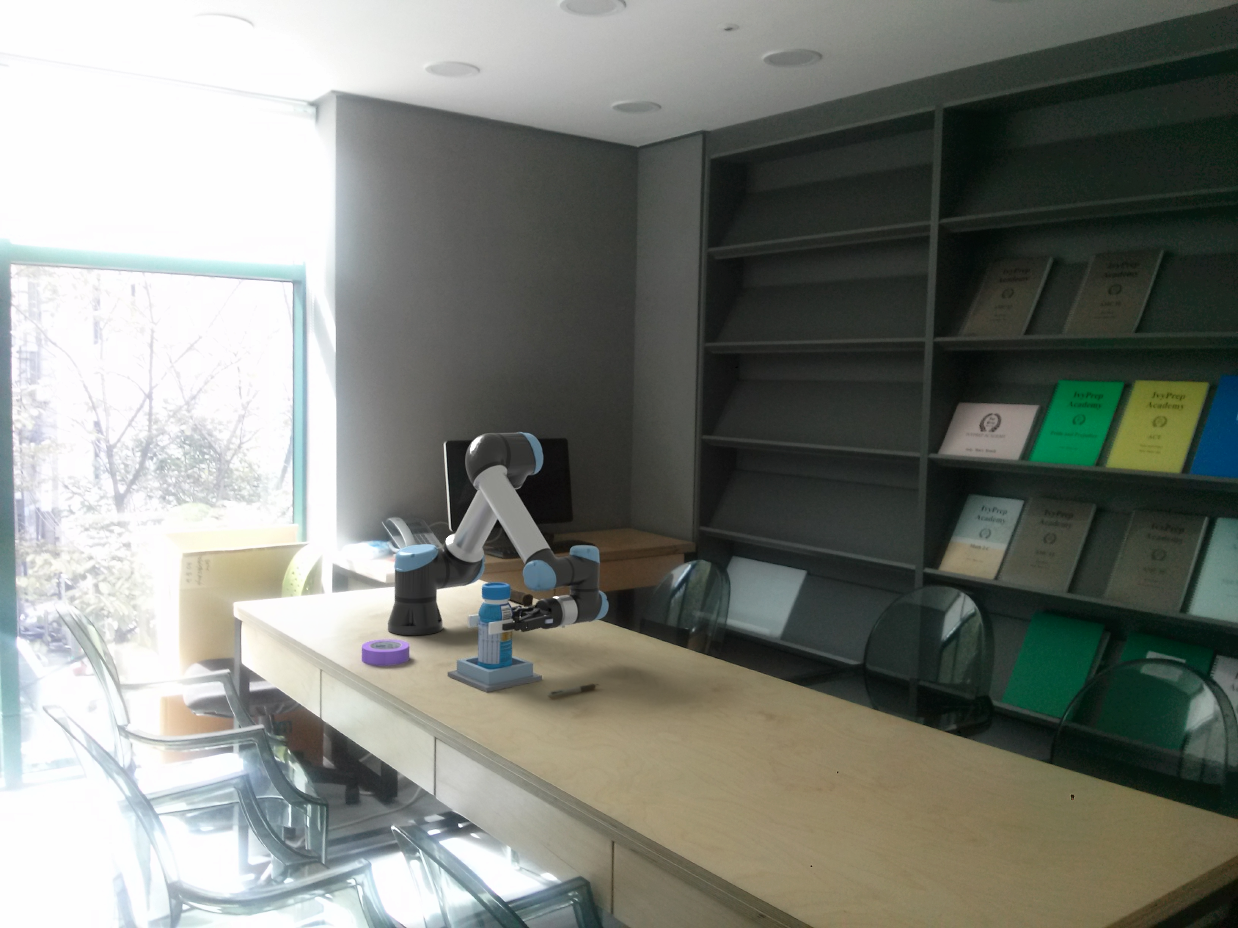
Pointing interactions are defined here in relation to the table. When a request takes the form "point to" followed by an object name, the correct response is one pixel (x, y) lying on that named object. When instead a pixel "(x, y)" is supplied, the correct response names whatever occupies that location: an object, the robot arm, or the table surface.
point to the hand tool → (521, 598)
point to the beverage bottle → (494, 608)
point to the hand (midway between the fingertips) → (478, 625)
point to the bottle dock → (494, 674)
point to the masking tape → (385, 652)
